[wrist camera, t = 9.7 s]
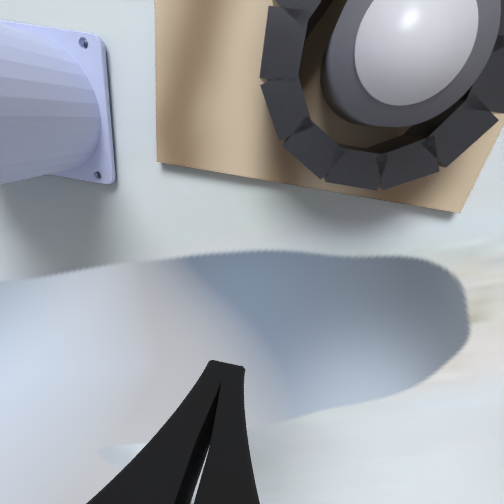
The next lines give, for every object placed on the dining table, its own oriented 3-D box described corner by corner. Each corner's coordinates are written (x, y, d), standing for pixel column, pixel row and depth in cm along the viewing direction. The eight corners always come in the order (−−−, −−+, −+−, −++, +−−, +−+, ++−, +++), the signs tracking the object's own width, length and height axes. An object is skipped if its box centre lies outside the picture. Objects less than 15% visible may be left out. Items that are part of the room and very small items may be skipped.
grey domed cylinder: (311, 119, 15) (319, 118, 10) (333, -2, 13) (355, -73, 8) (408, 130, 14) (461, 135, 10) (447, 7, 12) (541, -62, 8)
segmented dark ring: (255, 160, 16) (247, 169, 13) (289, -84, 12) (287, -145, 9) (431, 190, 16) (459, 204, 13) (537, -58, 11) (614, -114, 8)
